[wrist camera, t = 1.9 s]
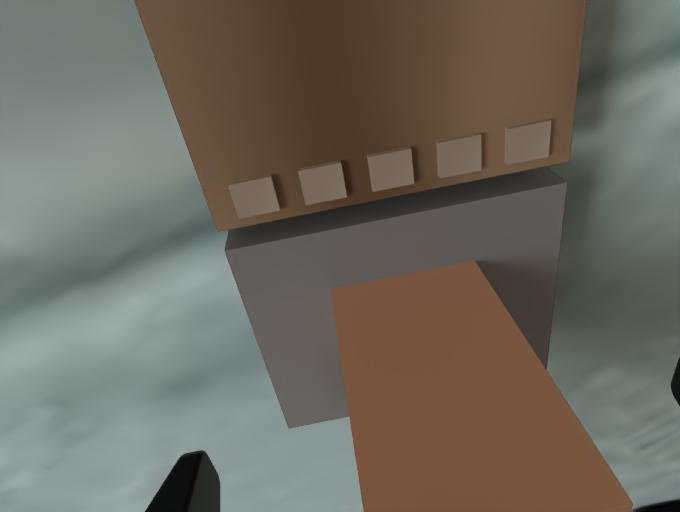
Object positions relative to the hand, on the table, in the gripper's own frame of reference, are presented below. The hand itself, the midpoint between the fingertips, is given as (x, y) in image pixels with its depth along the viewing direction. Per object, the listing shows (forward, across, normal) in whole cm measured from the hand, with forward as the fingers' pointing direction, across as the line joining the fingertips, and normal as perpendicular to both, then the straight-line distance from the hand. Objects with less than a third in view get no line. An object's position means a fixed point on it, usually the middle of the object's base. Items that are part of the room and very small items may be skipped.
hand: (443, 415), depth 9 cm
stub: (+4, 0, 0) cm, 4 cm away
